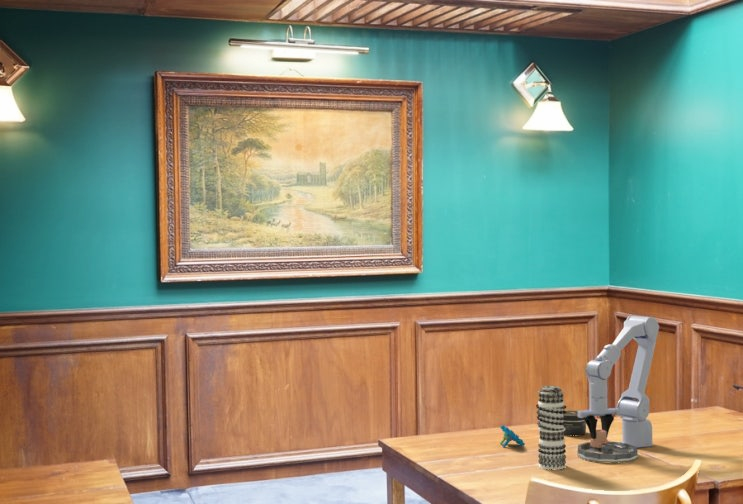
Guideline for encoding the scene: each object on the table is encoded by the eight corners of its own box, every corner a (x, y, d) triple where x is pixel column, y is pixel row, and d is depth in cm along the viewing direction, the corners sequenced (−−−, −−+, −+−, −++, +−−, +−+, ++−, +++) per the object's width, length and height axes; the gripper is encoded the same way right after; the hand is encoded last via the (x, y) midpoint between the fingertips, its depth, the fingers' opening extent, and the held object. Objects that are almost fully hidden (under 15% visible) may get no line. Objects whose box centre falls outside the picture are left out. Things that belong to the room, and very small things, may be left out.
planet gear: (601, 443, 314) (601, 428, 314) (610, 446, 309) (610, 431, 309) (587, 444, 312) (587, 429, 312) (595, 448, 307) (595, 433, 307)
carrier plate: (617, 447, 318) (617, 431, 317) (649, 460, 299) (649, 443, 299) (566, 452, 312) (566, 436, 312) (596, 465, 294) (596, 448, 294)
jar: (565, 429, 347) (564, 409, 347) (590, 432, 341) (590, 411, 341) (553, 434, 339) (553, 413, 339) (579, 438, 333) (579, 416, 333)
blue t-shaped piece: (529, 444, 317) (508, 424, 317) (518, 457, 316) (497, 437, 316) (518, 441, 328) (498, 422, 328) (508, 454, 327) (487, 435, 326)
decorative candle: (561, 471, 287) (559, 390, 287) (532, 468, 292) (531, 388, 291) (571, 465, 295) (570, 385, 294) (543, 461, 300) (542, 383, 299)
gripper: (611, 393, 316) (611, 433, 316) (572, 396, 312) (573, 437, 312) (622, 396, 309) (623, 437, 310) (583, 399, 305) (584, 441, 306)
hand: (599, 437), depth 311 cm, fingers closed on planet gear, 4 cm apart
